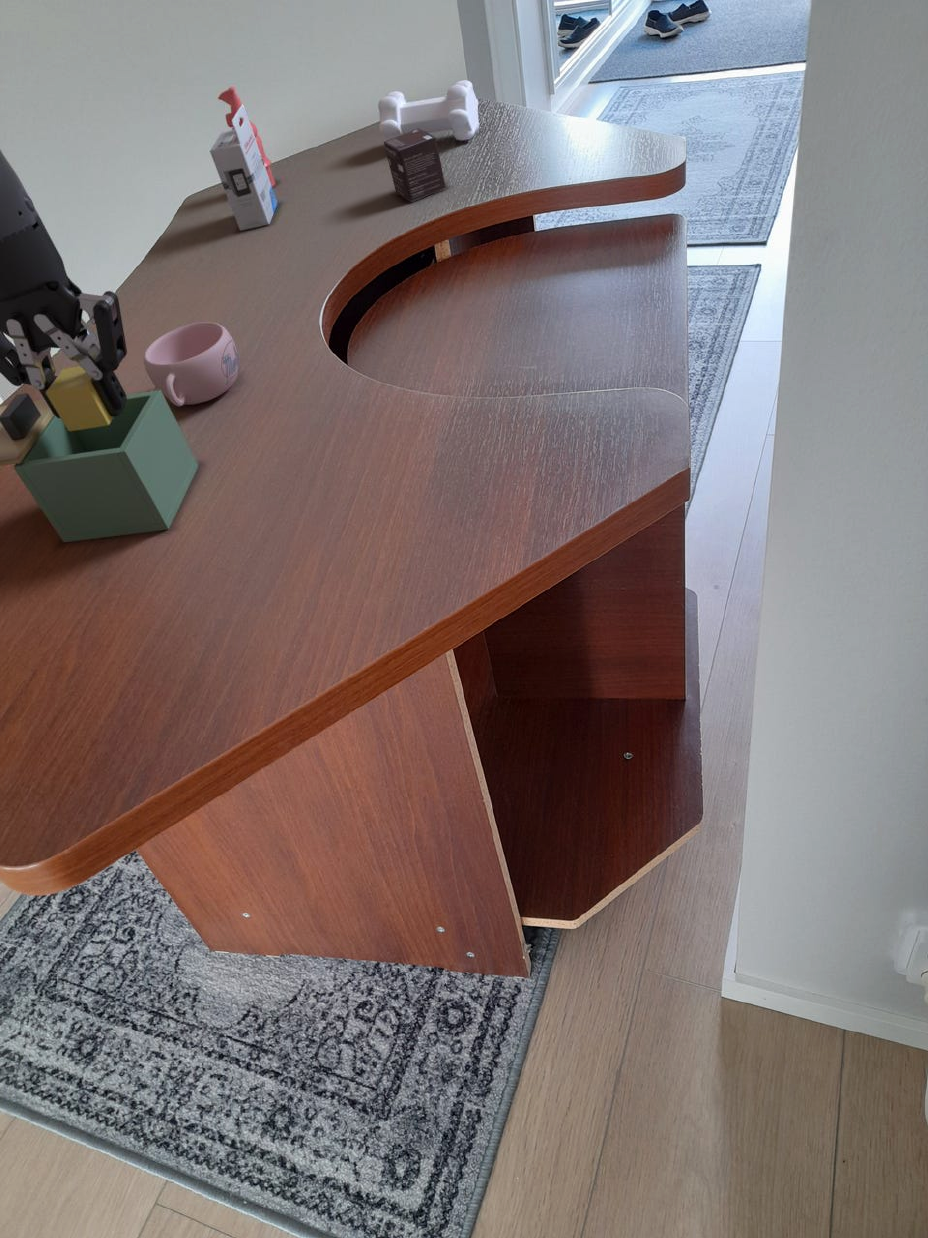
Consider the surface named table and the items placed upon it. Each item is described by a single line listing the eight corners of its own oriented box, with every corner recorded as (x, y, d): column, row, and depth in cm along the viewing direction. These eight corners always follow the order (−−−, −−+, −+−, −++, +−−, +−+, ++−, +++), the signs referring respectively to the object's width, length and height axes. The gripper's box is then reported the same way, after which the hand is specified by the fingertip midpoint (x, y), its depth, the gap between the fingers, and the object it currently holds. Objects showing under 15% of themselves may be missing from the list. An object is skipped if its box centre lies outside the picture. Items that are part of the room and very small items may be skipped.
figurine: (243, 194, 149) (207, 95, 139) (256, 182, 152) (222, 84, 142) (270, 191, 147) (235, 90, 137) (282, 178, 151) (249, 79, 140)
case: (168, 529, 83) (124, 451, 77) (63, 542, 86) (12, 467, 80) (198, 465, 90) (160, 389, 84) (100, 479, 93) (56, 405, 87)
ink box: (249, 210, 143) (212, 109, 133) (279, 203, 142) (244, 101, 132) (239, 231, 137) (199, 127, 127) (269, 225, 136) (232, 119, 126)
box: (395, 193, 135) (382, 141, 129) (431, 179, 136) (419, 127, 130) (410, 203, 130) (397, 149, 125) (447, 189, 131) (436, 135, 126)
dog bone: (384, 158, 147) (371, 104, 142) (400, 138, 153) (387, 86, 147) (471, 146, 143) (461, 89, 137) (484, 126, 148) (474, 71, 143)
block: (109, 425, 79) (86, 385, 77) (68, 431, 80) (45, 392, 77) (124, 400, 82) (103, 361, 79) (85, 407, 83) (62, 368, 80)
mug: (182, 371, 106) (160, 325, 102) (259, 362, 104) (239, 314, 100) (143, 429, 98) (118, 382, 94) (226, 420, 96) (203, 371, 92)
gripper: (-117, 261, 68) (9, 449, 80) (50, 227, 65) (154, 427, 77) (-69, 221, 73) (42, 403, 85) (88, 188, 70) (180, 381, 82)
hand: (95, 413), depth 81 cm, fingers closed on block, 4 cm apart
